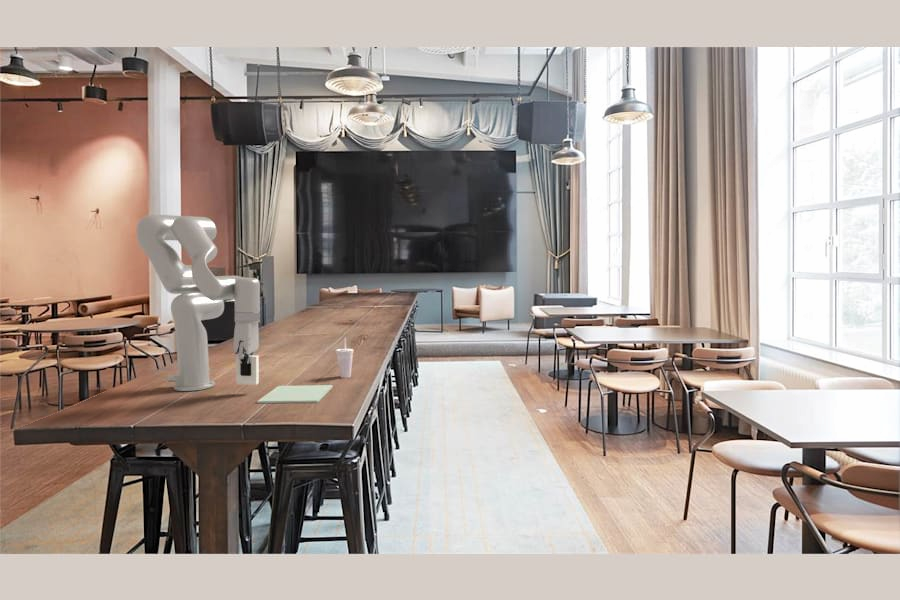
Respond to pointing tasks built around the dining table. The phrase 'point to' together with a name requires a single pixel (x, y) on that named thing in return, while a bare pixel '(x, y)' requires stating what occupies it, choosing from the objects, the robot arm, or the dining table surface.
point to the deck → (254, 371)
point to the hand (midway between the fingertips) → (247, 374)
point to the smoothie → (345, 361)
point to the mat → (296, 394)
